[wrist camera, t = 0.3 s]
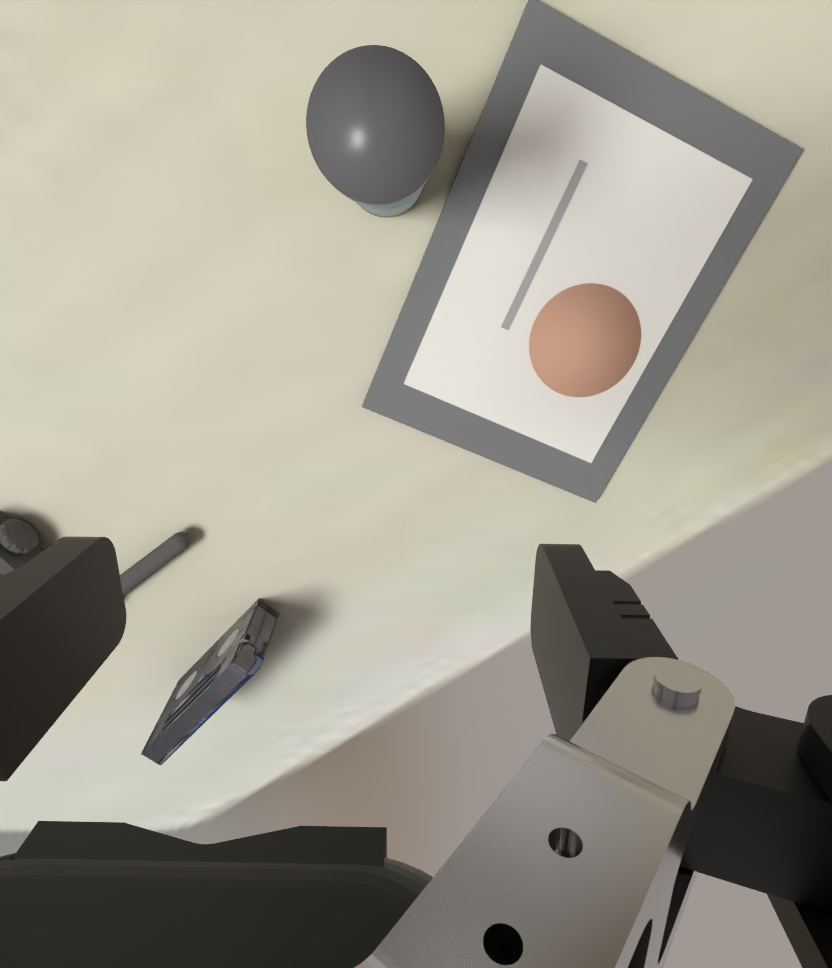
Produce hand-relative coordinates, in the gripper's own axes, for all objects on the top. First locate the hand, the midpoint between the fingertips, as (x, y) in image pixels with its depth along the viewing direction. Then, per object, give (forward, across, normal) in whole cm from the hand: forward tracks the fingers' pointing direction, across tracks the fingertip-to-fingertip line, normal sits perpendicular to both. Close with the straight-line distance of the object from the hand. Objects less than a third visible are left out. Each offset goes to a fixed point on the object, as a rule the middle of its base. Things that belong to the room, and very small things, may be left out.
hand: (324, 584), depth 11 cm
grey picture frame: (+21, -9, -5) cm, 24 cm away
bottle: (+21, 0, -10) cm, 23 cm away
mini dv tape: (+22, +10, +16) cm, 29 cm away
